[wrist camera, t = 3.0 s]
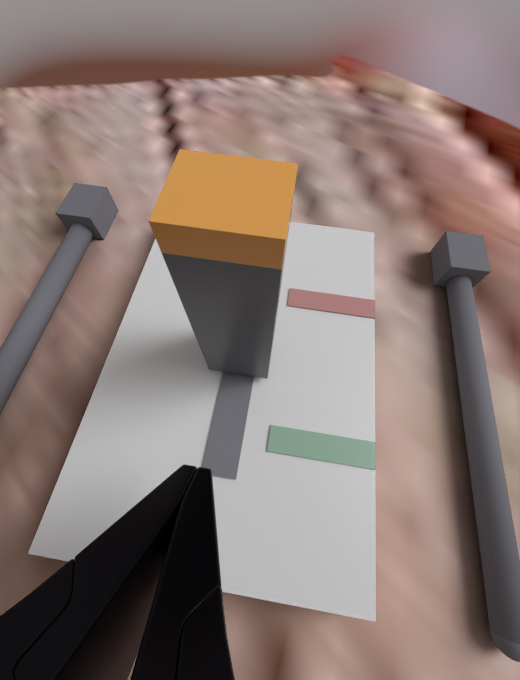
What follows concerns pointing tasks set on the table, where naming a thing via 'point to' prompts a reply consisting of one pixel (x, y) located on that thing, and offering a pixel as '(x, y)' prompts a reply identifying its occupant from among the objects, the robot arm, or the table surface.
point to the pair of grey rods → (478, 415)
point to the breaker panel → (245, 431)
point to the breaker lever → (227, 251)
